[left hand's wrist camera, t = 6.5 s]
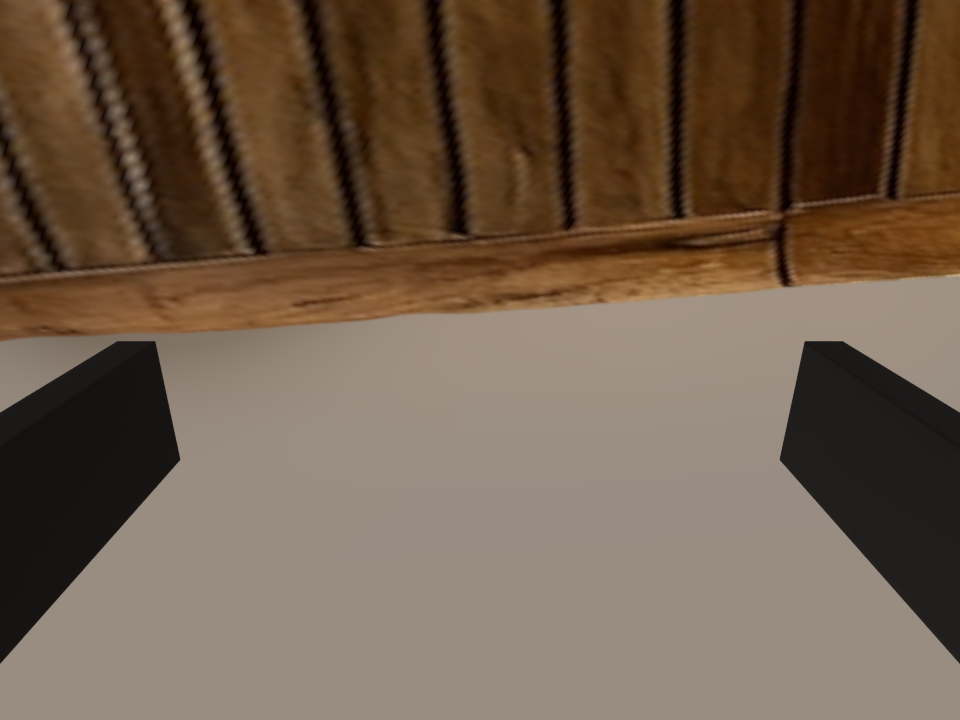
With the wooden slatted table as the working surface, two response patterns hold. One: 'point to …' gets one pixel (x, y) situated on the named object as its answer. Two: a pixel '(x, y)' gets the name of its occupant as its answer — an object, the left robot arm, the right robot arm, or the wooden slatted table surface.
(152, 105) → the wooden slatted table surface
